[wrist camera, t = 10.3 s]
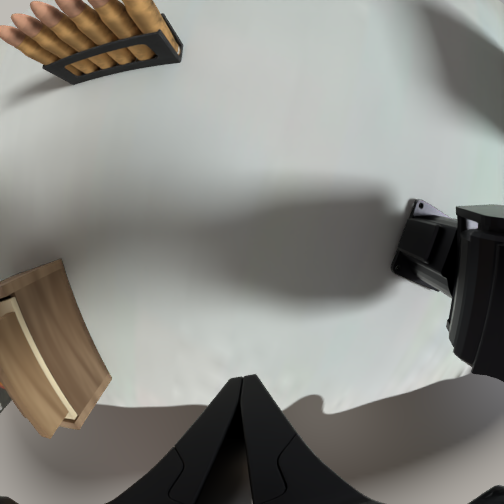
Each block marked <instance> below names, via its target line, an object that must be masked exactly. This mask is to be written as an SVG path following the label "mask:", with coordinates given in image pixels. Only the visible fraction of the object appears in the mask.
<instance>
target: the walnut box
mask: <svg viewBox="0 0 504 504" xmlns="http://www.w3.org/2000/svg"><path fill="white" fill-rule="evenodd" d="M12 297H15V298H16V301H17V303H18V306H19V308H20V311H21V313H22V316H23V318H24V321H25V323H26V325H27V328H28V330H29V332H30V334H31V336H32V338H33V341H34V343H35V345H36V347H37V349H38V351H39V353H40V355H41V357H42V358H43V360H44V362H45V364H46V366H47V368H48V369H49V371H50V373H51V375H52V376H53V378H54V380H55V382H56V383H57V385H58V387H59V388H60V390H61V391H62V393H63V394H64V396H65V398H66V399H67V401H68V402H69V404H70V405H71V407H72V408H73V409H74V411H75V412H76V414H77V417H76V418H75V420H74V419H67V418H64V420H63V421H62V422H61V424H60V425H59V426H61V427H66V428H72V429H77V430H79V429H80V428H81V426H82V425H83V423H84V421H85V420H86V418H87V417H88V415H89V414H90V412H91V410H92V409H93V407H94V406H95V404H96V403H97V401H98V400H99V398H100V397H101V395H102V394H103V392H104V390H105V389H106V387H107V386H108V384H109V383H110V381H111V380H112V377H111V376H110V374H109V372H108V370H107V368H106V366H105V364H104V362H103V361H102V359H101V357H100V355H99V353H98V351H97V349H96V346H95V344H94V342H93V340H92V338H91V336H90V334H89V331H88V329H87V327H86V325H85V322H84V320H83V318H82V315H81V313H80V310H79V308H78V305H77V303H76V300H75V298H74V295H73V292H72V289H71V287H70V284H69V281H68V278H67V275H66V272H65V269H64V266H63V263H62V259H59V260H56V261H53V262H50V263H47V264H44V265H42V266H39V267H36V268H33V269H31V270H28V271H25V272H22V273H20V274H17V275H14V276H12V277H10V278H7V279H5V280H3V281H1V282H0V301H2V300H5V299H9V298H12ZM0 381H1V383H2V385H3V386H4V388H5V389H6V391H7V393H8V394H9V396H10V397H11V399H12V400H13V402H14V403H15V405H16V406H17V408H18V409H19V411H20V412H21V413H22V415H23V416H24V417H25V418H27V417H26V416H25V414H24V413H23V411H22V410H21V409H20V407H19V406H18V404H17V403H16V401H15V400H14V398H13V397H12V395H11V394H10V392H9V390H8V389H7V387H6V386H5V384H4V382H3V380H2V379H1V377H0Z"/></svg>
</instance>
